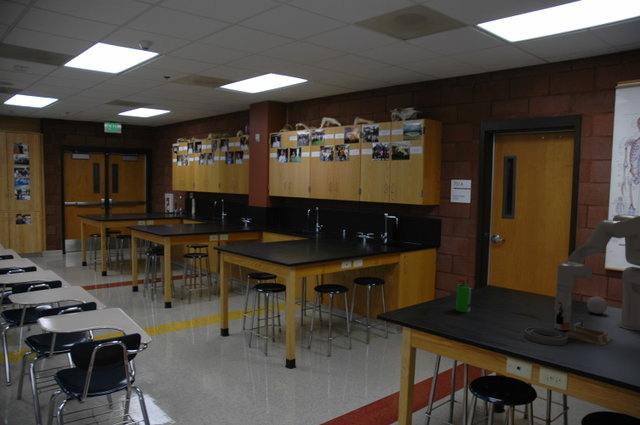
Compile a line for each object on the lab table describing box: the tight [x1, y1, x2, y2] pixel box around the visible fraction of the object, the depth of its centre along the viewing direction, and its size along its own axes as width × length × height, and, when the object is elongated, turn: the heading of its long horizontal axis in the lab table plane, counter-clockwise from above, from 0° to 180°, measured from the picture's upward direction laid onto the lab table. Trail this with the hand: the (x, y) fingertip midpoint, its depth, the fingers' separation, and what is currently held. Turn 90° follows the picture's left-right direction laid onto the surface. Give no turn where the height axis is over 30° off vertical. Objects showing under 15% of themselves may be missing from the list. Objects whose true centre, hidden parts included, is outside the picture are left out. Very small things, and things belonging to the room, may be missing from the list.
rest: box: [564, 326, 613, 347], centre depth 224 cm, size 14×18×4 cm
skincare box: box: [553, 305, 572, 331], centre depth 237 cm, size 6×4×12 cm
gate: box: [571, 317, 585, 330], centre depth 235 cm, size 12×2×4 cm, turn 133°
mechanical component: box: [524, 326, 569, 346], centre depth 221 cm, size 18×18×3 cm
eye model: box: [586, 295, 608, 315], centre depth 269 cm, size 10×10×10 cm
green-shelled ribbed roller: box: [455, 278, 472, 313], centre depth 267 cm, size 9×8×18 cm
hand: (562, 322), depth 237 cm, fingers closed on skincare box, 7 cm apart
